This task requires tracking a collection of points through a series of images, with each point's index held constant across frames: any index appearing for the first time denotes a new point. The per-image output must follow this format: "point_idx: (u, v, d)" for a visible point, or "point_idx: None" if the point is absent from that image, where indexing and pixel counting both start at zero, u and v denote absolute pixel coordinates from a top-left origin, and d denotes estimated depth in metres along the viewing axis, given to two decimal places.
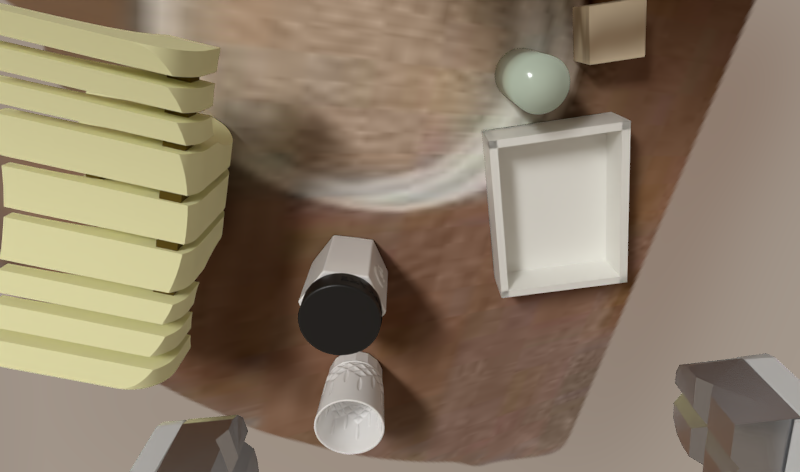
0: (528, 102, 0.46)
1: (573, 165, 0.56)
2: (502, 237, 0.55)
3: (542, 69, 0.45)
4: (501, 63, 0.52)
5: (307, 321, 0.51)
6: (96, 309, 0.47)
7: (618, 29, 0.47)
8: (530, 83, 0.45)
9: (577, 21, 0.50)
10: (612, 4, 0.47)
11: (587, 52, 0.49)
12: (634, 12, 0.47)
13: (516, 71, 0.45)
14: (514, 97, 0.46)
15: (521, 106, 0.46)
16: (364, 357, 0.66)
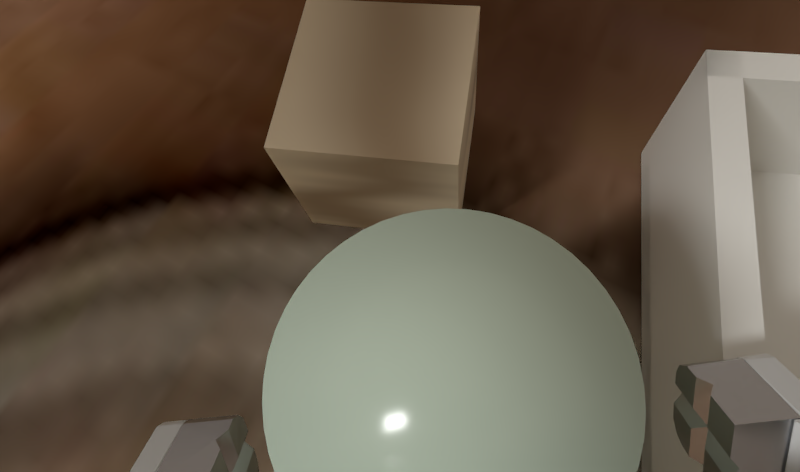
0: None
1: None
2: None
3: (358, 351, 0.07)
4: None
5: None
6: None
7: (370, 70, 0.14)
8: (416, 445, 0.07)
9: (340, 208, 0.17)
10: (287, 82, 0.14)
11: (415, 172, 0.13)
12: (335, 28, 0.15)
13: None
14: None
15: None
16: None
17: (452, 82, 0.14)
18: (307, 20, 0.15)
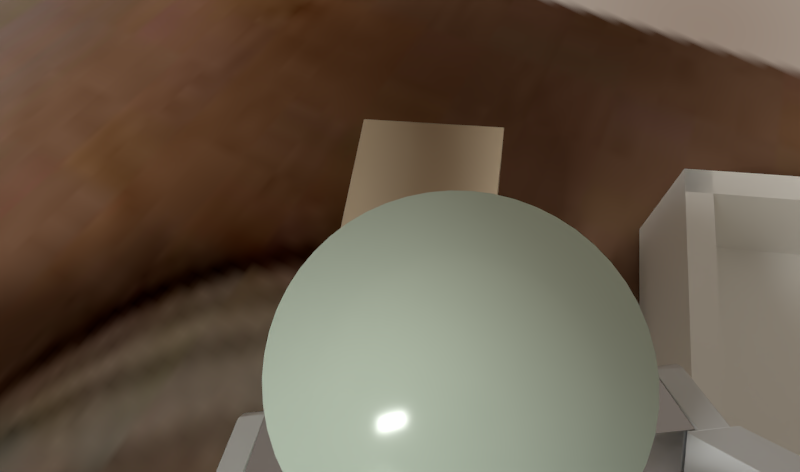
0: (552, 464, 0.06)
1: (798, 347, 0.18)
2: None
3: (360, 326, 0.07)
4: None
5: None
6: None
7: (417, 182, 0.18)
8: (421, 419, 0.06)
9: None
10: (352, 192, 0.18)
11: None
12: (388, 146, 0.18)
13: None
14: None
15: None
16: None
17: None
18: (365, 138, 0.19)
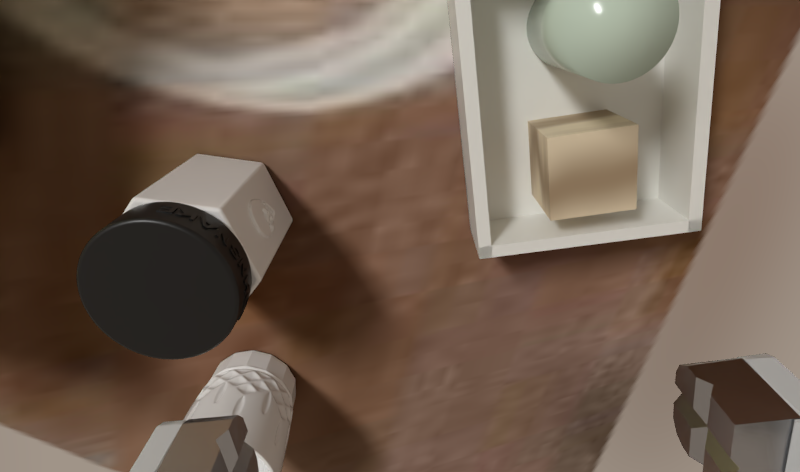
0: (612, 65, 0.24)
1: None
2: (479, 145, 0.30)
3: None
4: (532, 25, 0.30)
5: (95, 293, 0.26)
6: None
7: (594, 171, 0.30)
8: (599, 32, 0.23)
9: (534, 145, 0.33)
10: (584, 135, 0.29)
11: (547, 200, 0.31)
12: (619, 146, 0.29)
13: (563, 27, 0.23)
14: (582, 71, 0.24)
15: (603, 79, 0.24)
16: (264, 361, 0.41)
17: (591, 208, 0.31)
18: (623, 130, 0.29)
